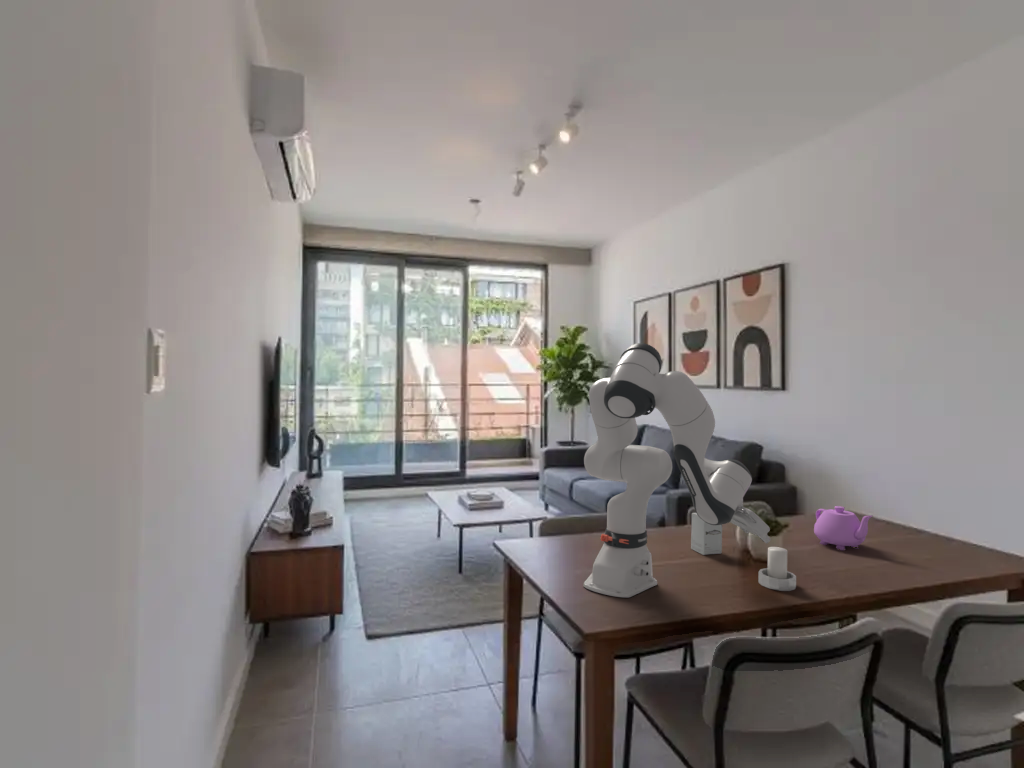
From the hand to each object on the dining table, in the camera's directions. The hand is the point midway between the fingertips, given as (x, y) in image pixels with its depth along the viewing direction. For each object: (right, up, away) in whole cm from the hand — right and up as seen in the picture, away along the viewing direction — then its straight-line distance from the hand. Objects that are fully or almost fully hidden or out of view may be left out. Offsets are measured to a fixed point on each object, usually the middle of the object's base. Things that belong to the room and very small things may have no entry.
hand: (757, 536), depth 157 cm
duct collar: (+5, -14, 0) cm, 15 cm away
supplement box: (-4, -14, +30) cm, 33 cm away
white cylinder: (+5, -14, 0) cm, 15 cm away
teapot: (+46, -14, +37) cm, 61 cm away
